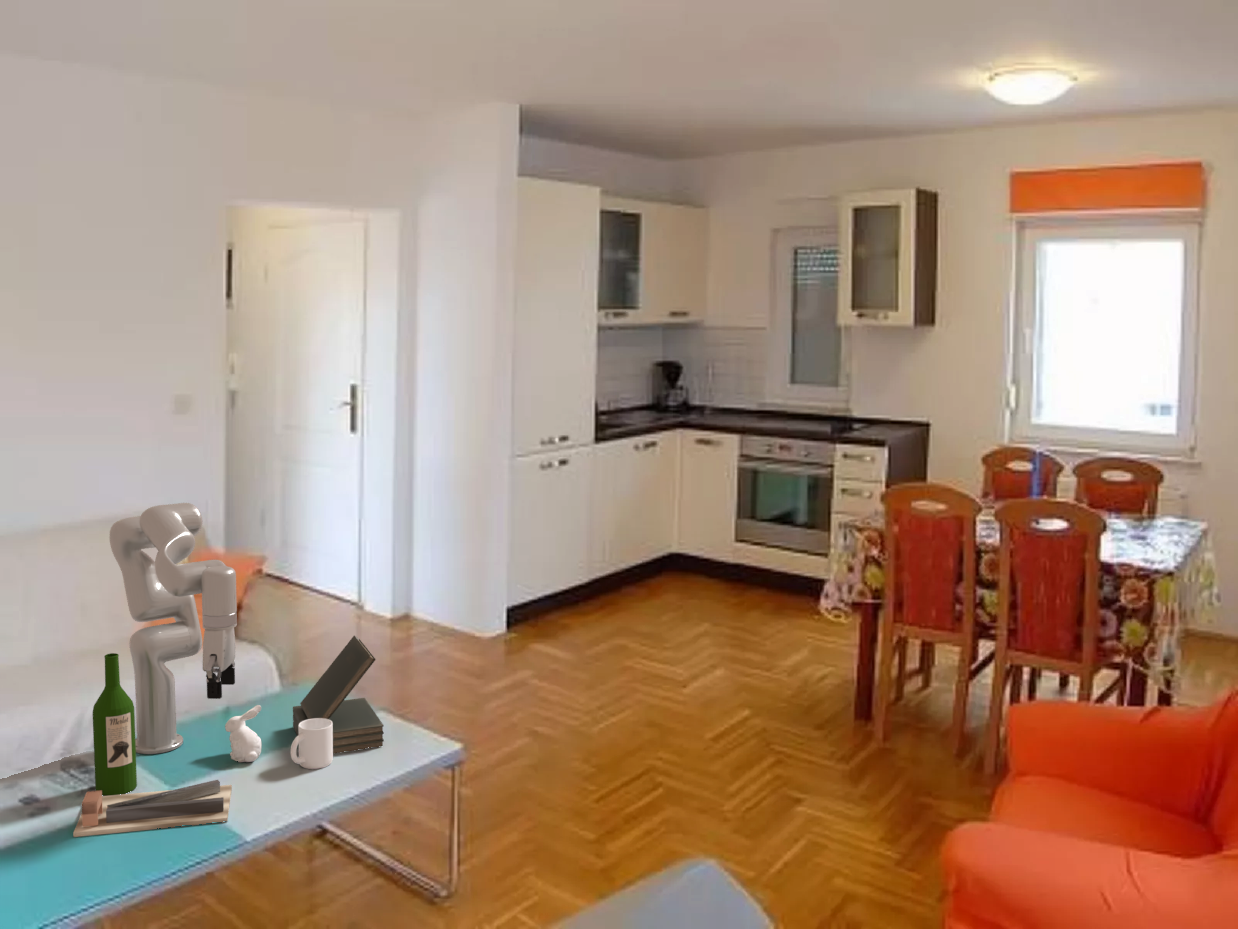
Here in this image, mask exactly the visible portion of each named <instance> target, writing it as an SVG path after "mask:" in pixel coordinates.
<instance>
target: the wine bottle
mask: <svg viewBox="0 0 1238 929" xmlns="http://www.w3.org/2000/svg"><path fill="white" fill-rule="evenodd" d="M119 656H120V655H119V654H118V653H113V652H110V653H107V654H105V655H104V657H103V658H104V684H105V686H104V688H103V690H102V692H101V693H100V695H99V697H98V698H97V700H96V701H95V703H94V705H93V707H92V708H93V709H92V733H93V734H92V735H93V756H94V757H93V759H94V760H93V761H94V764H93V765H94V781H95V782H94V784H95V786H94V787H95V791H99V790H102V795H103V796H110V795H120V794H126V793H127V794H129V793H131V792H133V791H135V789H136V788H137V785H138V777H137V753H136V744H135V739H136V720H135V719H136V716H135V715H136V714H135V705H134V702H133V700H132V699H131V698H130V695H128V694H127V693H126V691H125V690H124V689H123V687H122V685H121V680H120V678H121V677H120V665H119V664H120V662H119ZM130 791H131V792H130ZM128 792H129V793H128Z"/></svg>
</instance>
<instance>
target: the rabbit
mask: <svg viewBox="0 0 1238 929" xmlns="http://www.w3.org/2000/svg"><path fill="white" fill-rule="evenodd" d="M261 711H262V706H261V705H260V704H257V705H255V706H253V707H251V709H249V710H248V711H246V712H245V713H243V714H242V715H235V716H232V717H230V718H229V719H228V720H227V722H226V723H225V725H224V728H225V731H226V732H228V733H230V734H229V742H230V747H231V752H230V753H229V756H230V759H231V760H233V761H234V762H235V761H236V762H237V761H238V763H245V762H246V763H251V762H254V761H257V759H259V757H260V755H261V753H262V739H261V737H260V736H258V734H257V733H256V732H255V731H254V730H252V729H251V728H250V727H249V726H247V725H246V721H248V720H251V719H254V718H255V717H257V715H258V714H259V713H260V712H261Z"/></svg>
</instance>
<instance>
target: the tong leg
mask: <svg viewBox="0 0 1238 929" xmlns="http://www.w3.org/2000/svg"><path fill="white" fill-rule="evenodd" d="M220 786H221V781H219V779H214V780H209V781H206V782H202V783H197V784H192V785H189V786H184V787H180V788H179V787H178V788H176V789H170V790H171V791H166V790H165V791H166V792H162V793H158V794H154V795H149V796H145V797H141V798H136V799H132V800H128V801H123V802H119V803H115V804H110V805H107V808H113V807H123V806H134V805H145V804H156V803H167V802H178V801H184V800H188V799H192V798H196V797H201V796H205V795H209V794H213V793H217V792H220Z"/></svg>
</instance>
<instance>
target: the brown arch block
mask: <svg viewBox="0 0 1238 929" xmlns="http://www.w3.org/2000/svg"><path fill="white" fill-rule="evenodd" d="M102 813H103V807H102V790H99V791H96V790H89V791H86V793H85V795H84V798H83V800H82V801H81V814H82V824H83V827H84V826H94V825H98V814H102Z"/></svg>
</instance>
